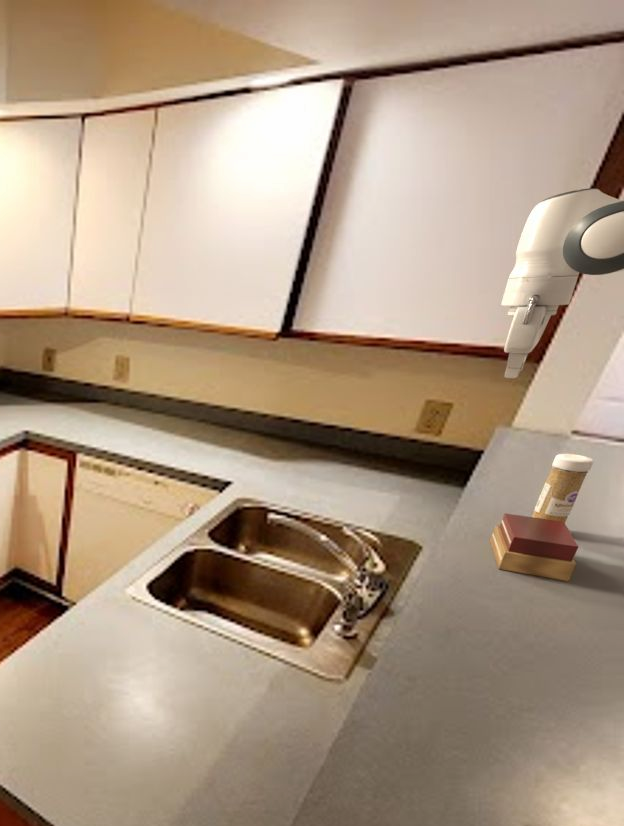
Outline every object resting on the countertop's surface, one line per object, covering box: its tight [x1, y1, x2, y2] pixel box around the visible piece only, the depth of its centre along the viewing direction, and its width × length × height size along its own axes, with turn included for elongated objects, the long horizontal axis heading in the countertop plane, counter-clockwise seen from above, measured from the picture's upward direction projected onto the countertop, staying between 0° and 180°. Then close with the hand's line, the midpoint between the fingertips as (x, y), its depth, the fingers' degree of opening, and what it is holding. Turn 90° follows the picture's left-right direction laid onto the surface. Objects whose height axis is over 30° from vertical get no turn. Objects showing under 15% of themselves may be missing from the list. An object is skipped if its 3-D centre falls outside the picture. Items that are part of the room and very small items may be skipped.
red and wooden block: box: [489, 513, 579, 582], centre depth 99 cm, size 8×12×6 cm, turn 145°
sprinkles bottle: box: [531, 453, 594, 524], centre depth 107 cm, size 5×5×14 cm
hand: (512, 375), depth 115 cm, fingers open, 8 cm apart
